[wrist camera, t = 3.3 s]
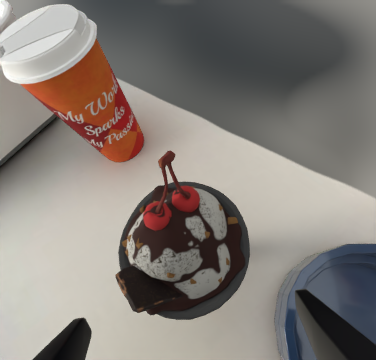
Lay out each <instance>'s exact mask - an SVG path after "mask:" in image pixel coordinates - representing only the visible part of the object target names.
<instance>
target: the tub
mask: <svg viewBox="0 0 376 360" xmlns="http://www.w3.org/2000/svg"><path fill="white" fill-rule="evenodd" d="M12 10H13V8H12V6H11V5H10V4H9V3H8V2H7V1H6V0H0V34H1V33H2V32H3V31H4V30H5V29H6V28H7V27H9V26H10V25H11V24H12V23H14V22H15V21H17V20H16V17H15V15H14V14H13V13H12ZM55 118H56V115H55V114H54V113H53V112H51V111H50V110H49V109H48V108H47V107H45V106H44V105H43V104H42V103H41V102H40V101H39V100H37V99H36V98H35V97H34V96H33V95H32V94H31V93H29V92H28V91H27V90H26V89H25V88H24V87H23V86H22V85H20V84H18V83H14V82H12V81H10V80H9V79H7V78H6V77H5V75H4V73H3V70H2V66H1V65H0V166H1V165H2V164H3V163H4V162H6V161H7V160H8V159H9V158H10V157H11V156H12V155H14V154H15V153H16V152H17V151H18V150H19V149H20V148H22V147H23V146H24V145H25V144H26V143H27V142H28V141H30V140H31V139H32V138H33V137H34V136H35V135H36V134H38V133H39V132H40V131H41V130H42V129H43V128H44V127H46V126H47V125H48V124H49V123H50V122H51V121H52V120H54V119H55Z"/></svg>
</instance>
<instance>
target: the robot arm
mask: <svg viewBox="0 0 376 360" xmlns="http://www.w3.org/2000/svg"><path fill="white" fill-rule="evenodd" d="M295 304H296V309H297V312H298V314H299V317H300V319H301V322H302V324H303V327H304V329H305V332H306V334H307V337H308V339H309V342H310V344H311V346H312V349H313V351H314V354H315V356H316V358H317V360H376V344H374V343H373V342H372V341H371V340H369V339H368V338H367V337H366V336H364V335H363V334H362V333H361V332H359V331H358V330H357V329H356V328H354V327H353V326H352V325H351V324H349V323H348V322H347V321H346V320H344V319H343V318H342V317H341V316H339V315H338V314H337V313H336V312H334V311H333V310H332V309H331V308H329V307H328V306H327V305H326V304H324V303H323V302H322V301H321V300H319V299H318V298H317V297H316V296H314V295H313V294H312V293H311V292H309V291H308V290H307V289H298V290H295ZM91 334H92V333H91V329H90V327H89V325H88V323H87V321H86V319H85V318H77V319H74V320H73V321H72V322H71V323H70V324H69V325H68V326H67V327H66V328H65V329H64V330H63V331H62V332H61V333H59V334H58V335H57V336H56V337H55V338H54V339H53V340H52V341H51V342H50V343H49V344H48V345H47V346H46V347H45V348H44V349H43V350H42V351H41V352H40V353H39V354H38V355H37V356H36V357H35V358H34V359H33V360H85V358H86V354H87V350H88V347H89V343H90V339H91Z"/></svg>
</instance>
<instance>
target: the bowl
mask: <svg viewBox="0 0 376 360" xmlns="http://www.w3.org/2000/svg"><path fill="white" fill-rule="evenodd" d="M298 289H307V290H308V291H309V292H311V293H312V294H313V295H314V296H316V297H317V298H318V299H319V300H321V301H322V302H323V303H324V304H326V305H327V306H328V307H329V308H331V309H332V310H333V311H334V312H336V313H337V314H338V315H339V316H341V317H342V318H343V319H344V320H346V321H347V322H348V323H349V324H351V325H352V326H353V327H354V328H356V329H357V330H358V331H359V332H361V333H362V334H363V335H364V336H366V337H367V338H368V339H369V340H371V341H372V342H373V343H374V344H376V244H346V245H343V246H339V247H336V248H332V249H329V250H326V251H323V252H320V253H317V254H314V255H312V256H309V257H307V258H305V259H304V260H303V261H302V262H300V263H299V264H298V265H297V266H296V267H294V268H293V269H292V270H291V271H290V272H289V274H288V275H287V277H286V279H285V281H284V283H283V285H282V287H281V289H280V291H279V293H278V298H277V305H276V312H275V318H274V319H275V328H276V336H277V343H278V350H279V353H280V356H281V358H282V360H317V358H316V356H315V354H314V351H313V349H312V346H311V344H310V342H309V339H308V337H307V334H306V332H305V329H304V327H303V324H302V322H301V319H300V317H299V314H298V312H297V309H296V304H295V290H298Z"/></svg>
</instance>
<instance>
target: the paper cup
mask: <svg viewBox="0 0 376 360" xmlns="http://www.w3.org/2000/svg"><path fill="white" fill-rule="evenodd" d="M96 29H97V26H96V24H95V23H94V22H93V21H91V20H89V19H87V16H86V15H85V14H84V13H83V12H81V11H78V10H77V9H76V8H74V7H73V6H71V5H66V4H58V5H50V6H46V7H43V8H40V9H37V10H35V11H33V12H31V13H29V14H26V15H25V16H23V17H21V18H20V19H18V20H17V21H15V22H14V23H12V24H11V25H10V26H9V27H7V28H6V29H5V30H4V31H3V32H2V33H1V34H0V65H1V66H2V70H3V73H4V75H5V77H6V78H7V79H9V80H10V81H12V82H14V83H18V84H20V85H22V86H23V87H24V88H25V89H26V90H27V91H28V92H29V93H31V94H32V95H33V96H34V97H35V98H36V99H37V100H39V101H40V102H41V103H42V104H43V105H44V106H45V107H47V108H48V109H49V110H50V111H51V112H53V113H54V114H55V115H56V116H58V117H59V118H60V119H61V120H62V121H64V122H65V123H66V124H67V125H69V126H70V127H71V128H72V129H73V130H75V131H76V132H77V133H78V134H79V135H80V136H82V137H83V138H84V139H85V140H86V141H87V142H89V143H90V144H91V145H92V146H93V147H95V148H96V149H97V150H98V151H99V152H101V153H102V154H103V155H104V156H106V157H107V158H108V159H110V160H112V161H114V162H124V161H127V160H130V159H132V158H133V157H135V156H136V155H137V154H138V153H139V152H140V150H141V149H142V147H143V143H144V137H143V134H142V131H141V129H140V127H139V125H138V123H137V121H136V119H135V116H134V114H133V112H132V110H131V108H130V106H129V104H128V102H127V100H126V98H125V96H124V94H123V92H122V90H121V88H120V86H119V84H118V82H117V80H116V78H115V75H114V73H113V71H112V69H111V68H110V65H109V63H108V61H107V60H106V57H105V55H104V53H103V51H102V49H101V47H100V45H99V43H98V41H97V39H96V35H97V32H96Z"/></svg>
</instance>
